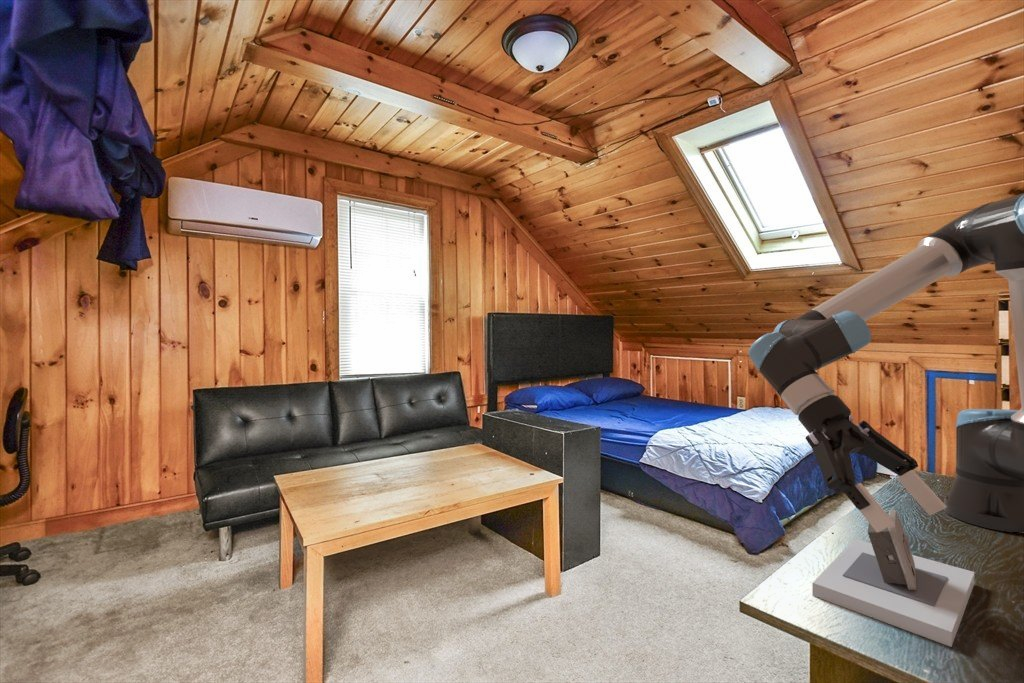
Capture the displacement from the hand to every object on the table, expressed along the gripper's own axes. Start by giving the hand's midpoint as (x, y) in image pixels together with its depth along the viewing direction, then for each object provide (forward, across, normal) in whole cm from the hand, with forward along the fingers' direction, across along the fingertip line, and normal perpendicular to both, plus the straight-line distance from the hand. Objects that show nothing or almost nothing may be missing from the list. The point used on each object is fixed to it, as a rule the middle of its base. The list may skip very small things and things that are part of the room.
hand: (913, 519), depth 73 cm
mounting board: (+7, 0, -10) cm, 12 cm away
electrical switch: (+5, 0, -9) cm, 10 cm away
